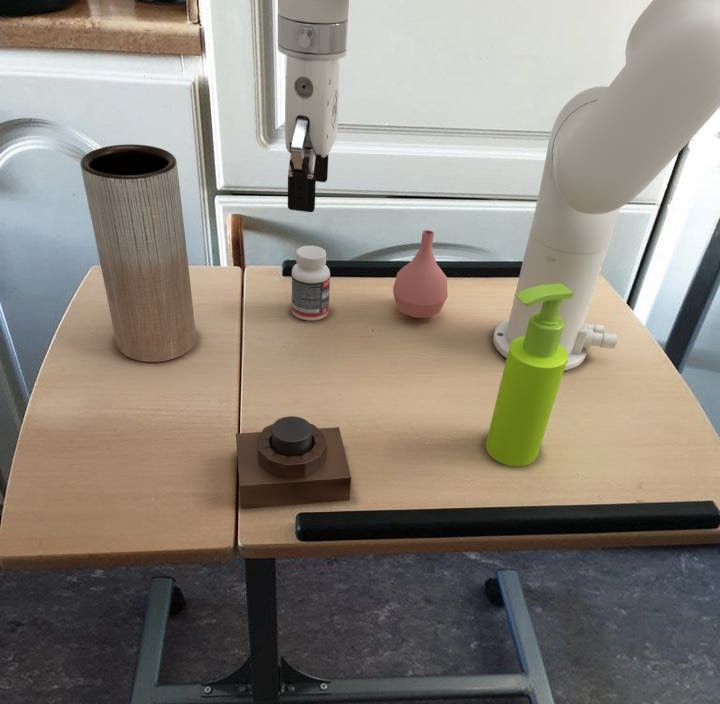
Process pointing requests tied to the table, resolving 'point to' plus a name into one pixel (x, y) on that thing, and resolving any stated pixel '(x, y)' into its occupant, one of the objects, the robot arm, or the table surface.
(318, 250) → the pill bottle
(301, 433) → the dark grey push button
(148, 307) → the planter
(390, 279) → the table surface
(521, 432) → the soap dispenser
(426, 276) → the pink vase
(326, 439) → the brown button base
